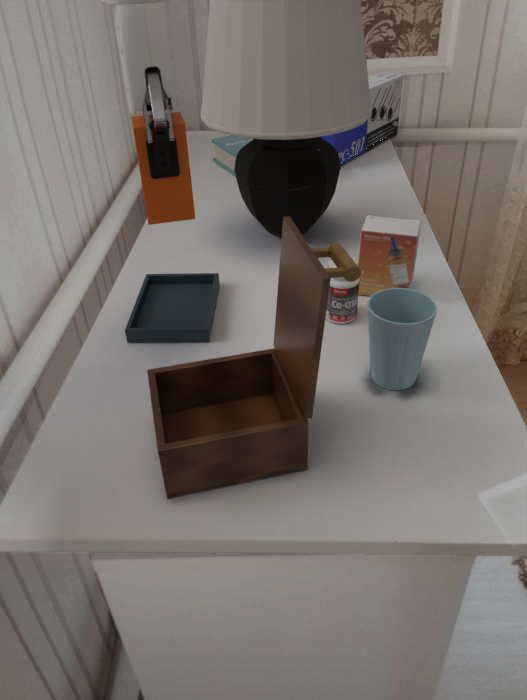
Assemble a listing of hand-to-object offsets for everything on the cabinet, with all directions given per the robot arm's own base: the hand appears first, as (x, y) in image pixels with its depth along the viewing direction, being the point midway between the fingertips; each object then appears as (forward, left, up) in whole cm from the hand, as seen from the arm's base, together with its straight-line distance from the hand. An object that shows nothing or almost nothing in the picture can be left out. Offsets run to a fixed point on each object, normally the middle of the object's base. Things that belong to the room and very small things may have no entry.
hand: (163, 166), depth 68 cm
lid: (-5, -23, -9) cm, 25 cm away
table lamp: (+33, +9, -24) cm, 42 cm away
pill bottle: (+17, -14, -24) cm, 32 cm away
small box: (+27, -15, -24) cm, 39 cm away
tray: (+3, +5, -23) cm, 24 cm away
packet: (0, 0, -6) cm, 6 cm away
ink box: (+77, +25, -24) cm, 85 cm away
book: (+55, +33, -24) cm, 69 cm away
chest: (-11, -19, -23) cm, 32 cm away
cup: (+10, -27, -24) cm, 37 cm away
